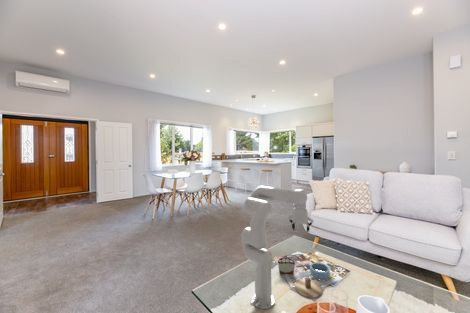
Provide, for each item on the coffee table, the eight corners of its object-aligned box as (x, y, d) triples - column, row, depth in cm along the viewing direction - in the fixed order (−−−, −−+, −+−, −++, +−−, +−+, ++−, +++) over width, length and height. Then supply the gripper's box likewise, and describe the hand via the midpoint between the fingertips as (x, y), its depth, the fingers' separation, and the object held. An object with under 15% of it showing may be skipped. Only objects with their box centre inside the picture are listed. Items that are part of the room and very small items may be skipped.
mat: (315, 303, 120) (315, 302, 120) (289, 290, 131) (289, 289, 131) (326, 288, 132) (326, 287, 132) (301, 278, 143) (301, 276, 143)
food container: (294, 270, 151) (293, 257, 151) (295, 275, 145) (295, 261, 145) (276, 270, 153) (276, 256, 152) (277, 275, 146) (277, 261, 146)
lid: (315, 302, 120) (315, 292, 120) (289, 289, 131) (289, 280, 131) (326, 287, 132) (326, 278, 131) (301, 276, 143) (301, 268, 142)
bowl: (325, 284, 136) (325, 275, 135) (307, 276, 144) (307, 268, 144) (332, 275, 144) (332, 267, 144) (314, 268, 153) (314, 260, 152)
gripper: (286, 206, 150) (287, 230, 151) (312, 209, 141) (312, 234, 143) (289, 203, 156) (289, 226, 158) (314, 206, 148) (314, 230, 149)
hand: (300, 230), depth 150 cm, fingers open, 9 cm apart
